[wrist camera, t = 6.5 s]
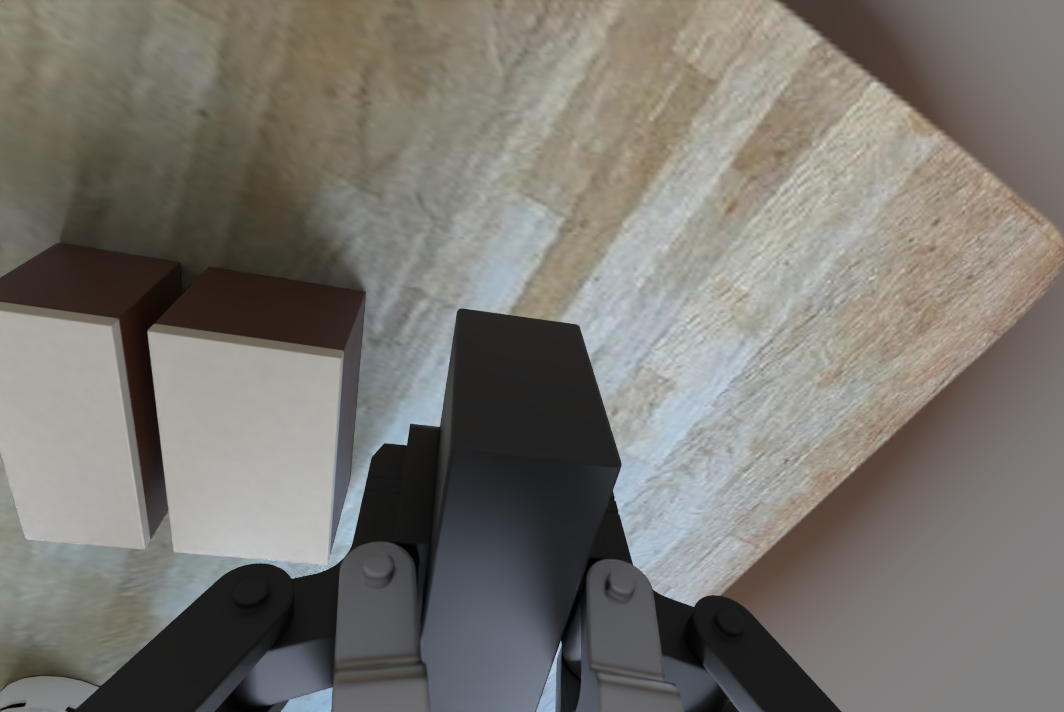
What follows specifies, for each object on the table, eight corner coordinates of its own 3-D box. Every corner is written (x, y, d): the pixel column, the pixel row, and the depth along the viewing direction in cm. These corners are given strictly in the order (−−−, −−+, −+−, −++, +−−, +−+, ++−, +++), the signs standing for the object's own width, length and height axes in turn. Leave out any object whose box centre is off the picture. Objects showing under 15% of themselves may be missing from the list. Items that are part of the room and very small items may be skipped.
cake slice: (57, 242, 27) (-45, 303, 21) (180, 261, 27) (110, 325, 22) (96, 452, 32) (24, 540, 27) (196, 463, 33) (144, 550, 28)
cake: (208, 266, 28) (146, 330, 22) (366, 291, 29) (341, 357, 24) (219, 466, 34) (172, 552, 28) (350, 480, 35) (327, 565, 30)
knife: (457, 306, 12) (449, 447, 9) (580, 323, 13) (624, 464, 9) (387, 777, 22) (368, 946, 18) (460, 778, 22) (456, 943, 18)
